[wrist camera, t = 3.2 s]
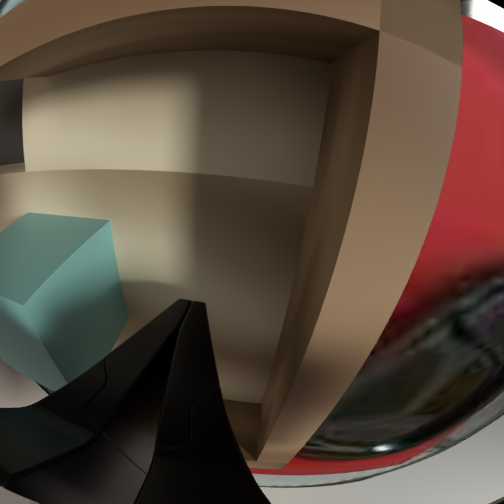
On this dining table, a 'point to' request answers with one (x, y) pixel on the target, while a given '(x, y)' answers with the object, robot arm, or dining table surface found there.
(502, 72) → the dining table surface
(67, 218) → the block
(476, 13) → the black box
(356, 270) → the cubby
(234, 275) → the board
